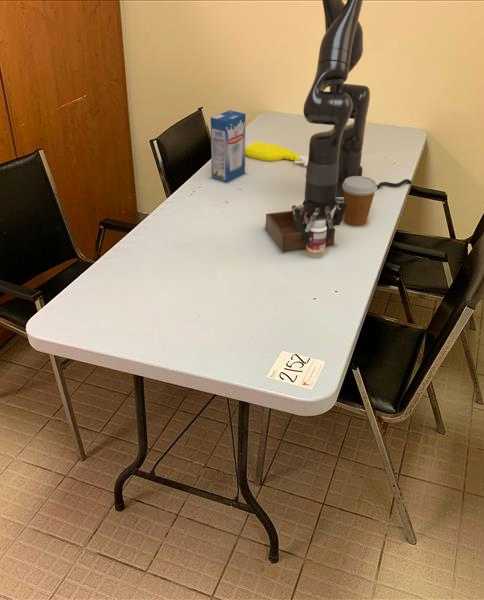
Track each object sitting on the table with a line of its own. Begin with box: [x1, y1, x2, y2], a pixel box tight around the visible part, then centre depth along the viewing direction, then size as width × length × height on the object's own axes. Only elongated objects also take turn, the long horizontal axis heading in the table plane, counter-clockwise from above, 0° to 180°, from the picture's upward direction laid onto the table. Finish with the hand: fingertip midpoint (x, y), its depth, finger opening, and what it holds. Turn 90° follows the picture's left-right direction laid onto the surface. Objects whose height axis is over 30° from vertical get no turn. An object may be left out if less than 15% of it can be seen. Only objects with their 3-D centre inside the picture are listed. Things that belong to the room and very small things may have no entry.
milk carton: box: [210, 110, 247, 184], centre depth 193 cm, size 10×6×20 cm, turn 143°
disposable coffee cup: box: [342, 175, 378, 227], centre depth 168 cm, size 10×10×12 cm
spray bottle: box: [245, 141, 309, 168], centre depth 212 cm, size 3×11×24 cm
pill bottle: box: [306, 218, 327, 254], centre depth 150 cm, size 5×5×8 cm
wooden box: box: [265, 209, 336, 253], centre depth 162 cm, size 15×14×5 cm
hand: (316, 241), depth 151 cm, fingers closed on pill bottle, 4 cm apart
